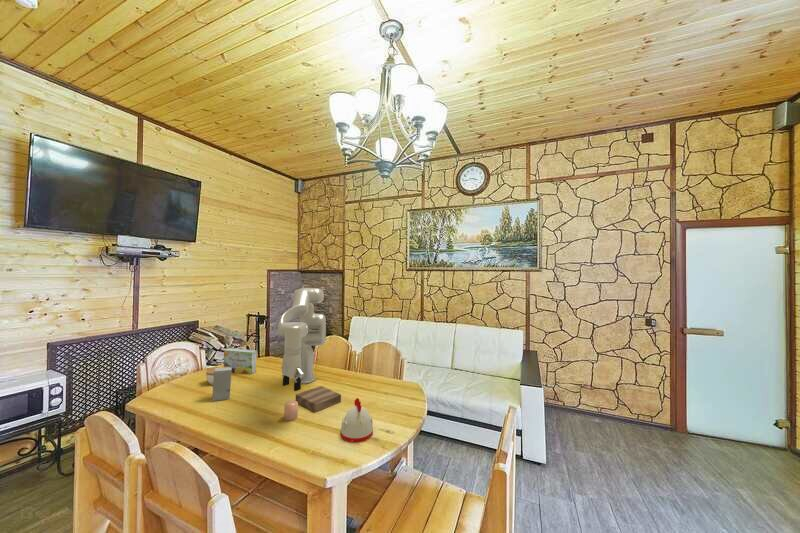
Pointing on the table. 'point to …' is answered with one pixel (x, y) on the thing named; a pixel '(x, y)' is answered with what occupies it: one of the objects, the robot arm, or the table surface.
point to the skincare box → (221, 383)
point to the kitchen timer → (357, 424)
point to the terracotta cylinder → (290, 410)
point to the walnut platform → (318, 398)
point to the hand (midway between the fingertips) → (291, 387)
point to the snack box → (240, 360)
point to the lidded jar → (210, 375)
